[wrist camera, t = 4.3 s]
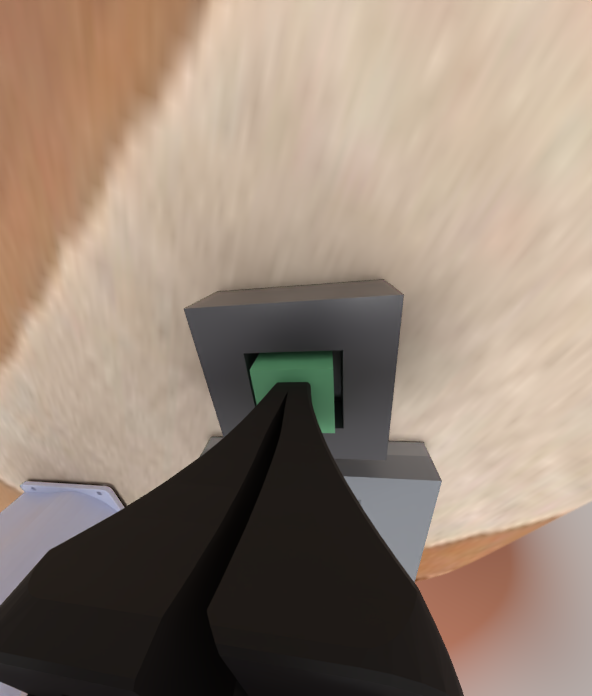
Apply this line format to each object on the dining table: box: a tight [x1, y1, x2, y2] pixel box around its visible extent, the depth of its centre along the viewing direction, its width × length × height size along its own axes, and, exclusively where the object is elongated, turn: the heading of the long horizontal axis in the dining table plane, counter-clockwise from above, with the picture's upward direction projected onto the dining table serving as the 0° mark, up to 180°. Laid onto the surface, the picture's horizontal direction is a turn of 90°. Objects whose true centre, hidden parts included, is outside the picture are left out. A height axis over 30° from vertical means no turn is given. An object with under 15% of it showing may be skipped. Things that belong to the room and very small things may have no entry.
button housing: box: [184, 279, 404, 461], centre depth 11 cm, size 8×8×3 cm
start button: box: [250, 351, 335, 433], centre depth 10 cm, size 3×3×2 cm
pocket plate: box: [200, 437, 442, 582], centre depth 17 cm, size 14×12×2 cm
